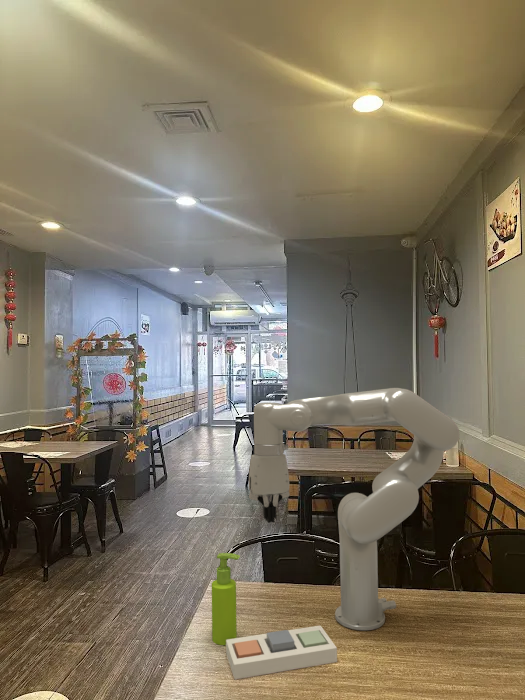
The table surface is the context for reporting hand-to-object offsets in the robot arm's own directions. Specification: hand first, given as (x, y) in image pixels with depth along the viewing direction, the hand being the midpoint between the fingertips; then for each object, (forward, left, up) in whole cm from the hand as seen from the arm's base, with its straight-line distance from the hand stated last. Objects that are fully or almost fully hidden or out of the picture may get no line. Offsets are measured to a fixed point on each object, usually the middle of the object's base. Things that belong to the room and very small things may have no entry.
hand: (269, 520), depth 129 cm
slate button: (+3, +17, -23) cm, 28 cm away
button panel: (+2, +17, -25) cm, 30 cm away
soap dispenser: (+13, +6, -25) cm, 29 cm away
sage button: (-5, +17, -24) cm, 30 cm away
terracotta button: (+10, +17, -24) cm, 31 cm away
